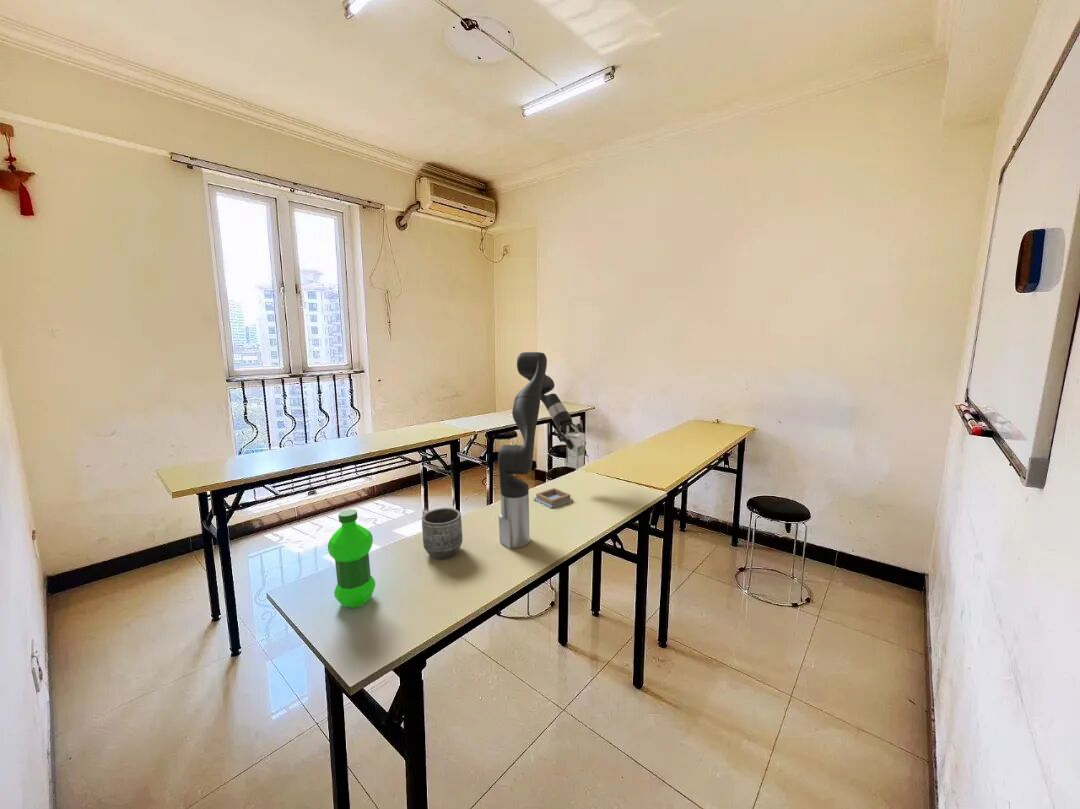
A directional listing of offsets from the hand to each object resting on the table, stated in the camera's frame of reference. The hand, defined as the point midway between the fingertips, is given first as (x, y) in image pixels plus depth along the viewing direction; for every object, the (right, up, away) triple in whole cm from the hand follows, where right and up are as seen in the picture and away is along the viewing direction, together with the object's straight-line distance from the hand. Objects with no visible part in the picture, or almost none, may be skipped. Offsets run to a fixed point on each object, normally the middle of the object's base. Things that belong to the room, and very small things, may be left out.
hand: (578, 446), depth 179 cm
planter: (-47, -30, -43) cm, 70 cm away
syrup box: (-1, -9, +3) cm, 9 cm away
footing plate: (-11, -22, -3) cm, 25 cm away
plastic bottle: (-65, -34, -67) cm, 99 cm away
